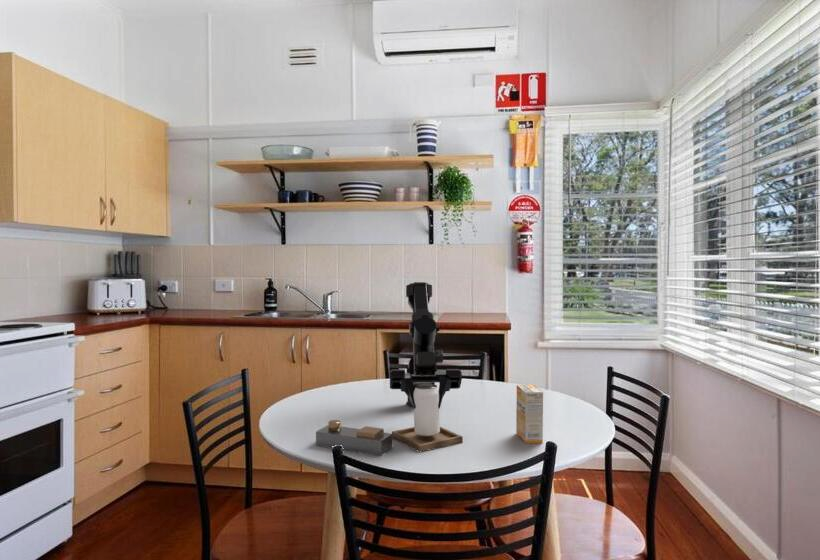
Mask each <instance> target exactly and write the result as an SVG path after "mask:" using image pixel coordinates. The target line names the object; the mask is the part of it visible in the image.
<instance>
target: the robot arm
mask: <svg viewBox="0 0 820 560" xmlns="http://www.w3.org/2000/svg"><path fill="white" fill-rule="evenodd" d="M432 297H433V285H432V284H430V283H428V282H426V281H424V282H423V281H421V282H419V281H417V282H416V281H415V282H412V283H411V282H410V283H409V284H406V286H405V298H407V303H408V306H409V308H410V309H411V310H412V314H411V321H409V323H408V324H409V325H408V328H409V329H408V330H409V333H408V334H409V335H411V338H412V345H413V346H412V348H413V349H412V350H413V351H412V356H411V358H410V359H409V361H408V367H406V369H402V368H401V369H391V370H390V372H389V389H391V390H400V392H403V393H405V395H406V396H407V401H406V402H405V404H406V405H408V406H411V407H413V410H414V409H415V408H416V406H415V402H414V390H415V386H416V385H419V384H435V385H436V383H439V386H438V391H439V404H438V408H439V410H440V409H441V406H442V403H443V398H444V396H445V395H446V392H450V391H451V390H452V389H456V390H458V389H460V388H461V385H462V379H463V373H462V371H461V370H460V369H459V368H446V369H445V374H437V371H438V366H437V365H438V364H443V362H444V351H443V349H436V350H435V344H434V343H435V341H436V335H437V334H438V332H440V326H439V325H438V324H437V321H435V319H434V314H433V313H432V312H430V311H429V310H430V309H429V304H430V301H431V298H432Z"/></svg>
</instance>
